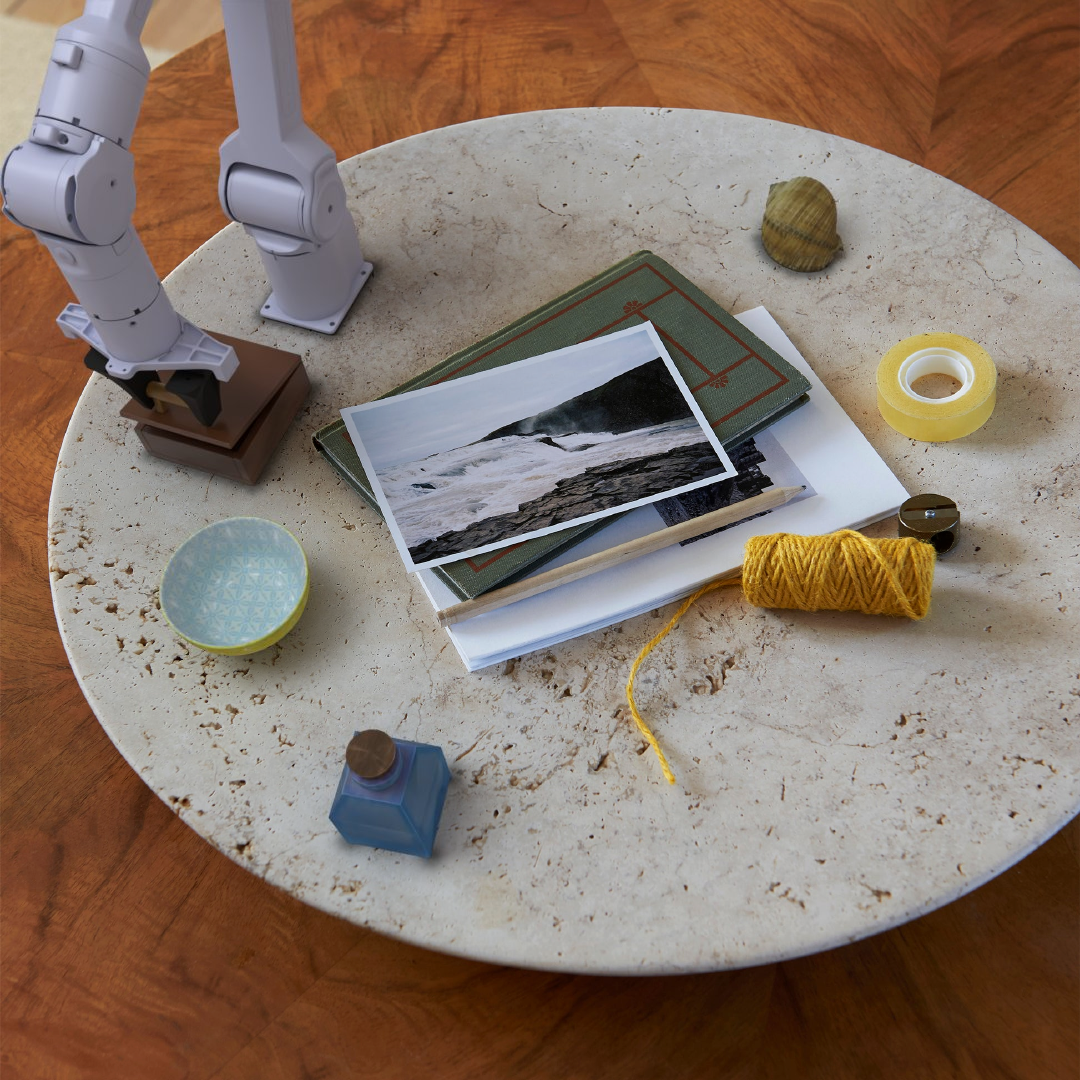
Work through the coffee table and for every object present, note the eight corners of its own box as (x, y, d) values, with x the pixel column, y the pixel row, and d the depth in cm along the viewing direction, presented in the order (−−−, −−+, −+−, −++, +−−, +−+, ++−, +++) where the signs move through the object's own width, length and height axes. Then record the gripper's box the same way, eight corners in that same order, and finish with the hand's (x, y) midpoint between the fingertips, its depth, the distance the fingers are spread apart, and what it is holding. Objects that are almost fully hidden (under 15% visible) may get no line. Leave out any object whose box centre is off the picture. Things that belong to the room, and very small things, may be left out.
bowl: (201, 702, 81) (174, 670, 75) (172, 582, 86) (145, 544, 81) (342, 651, 83) (325, 616, 77) (304, 536, 88) (286, 496, 83)
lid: (231, 449, 86) (222, 418, 83) (120, 416, 88) (108, 385, 85) (302, 360, 93) (296, 328, 90) (198, 332, 95) (189, 300, 93)
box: (253, 486, 91) (240, 461, 88) (148, 454, 93) (132, 429, 90) (312, 387, 96) (302, 360, 93) (212, 359, 99) (199, 332, 95)
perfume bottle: (429, 858, 74) (404, 809, 64) (346, 842, 75) (308, 791, 65) (450, 775, 77) (430, 715, 67) (370, 759, 78) (337, 699, 68)
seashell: (823, 286, 106) (874, 217, 102) (807, 289, 100) (861, 216, 96) (748, 230, 108) (795, 161, 104) (728, 230, 102) (778, 156, 98)
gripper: (4, 307, 75) (82, 422, 87) (179, 356, 72) (236, 468, 84) (59, 241, 78) (127, 360, 90) (229, 284, 75) (277, 402, 87)
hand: (183, 408), depth 87 cm, fingers closed on lid, 5 cm apart
